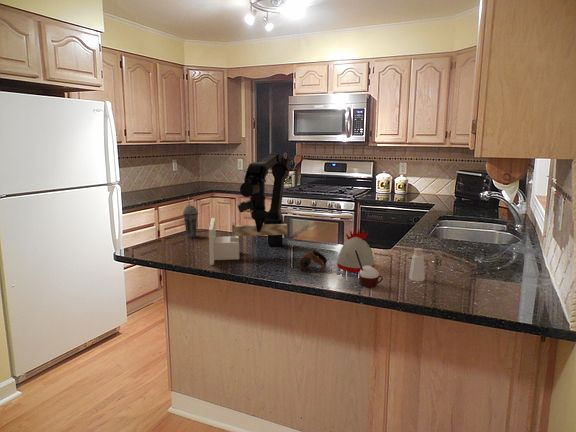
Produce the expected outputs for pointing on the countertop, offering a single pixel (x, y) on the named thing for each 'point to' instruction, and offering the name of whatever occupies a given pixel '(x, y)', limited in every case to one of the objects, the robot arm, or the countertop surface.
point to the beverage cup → (190, 220)
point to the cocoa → (368, 275)
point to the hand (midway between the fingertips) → (258, 231)
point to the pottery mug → (312, 256)
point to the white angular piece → (222, 245)
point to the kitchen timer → (348, 255)
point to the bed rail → (265, 230)
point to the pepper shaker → (417, 266)
